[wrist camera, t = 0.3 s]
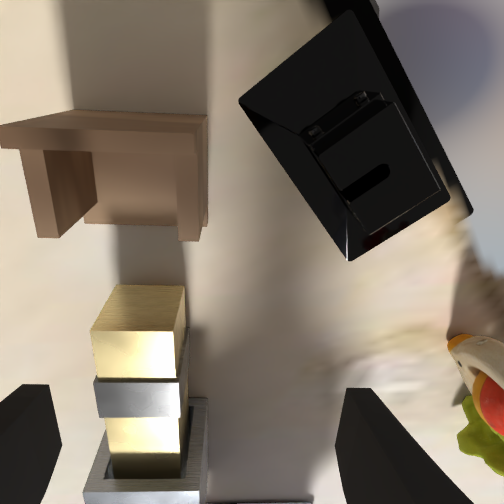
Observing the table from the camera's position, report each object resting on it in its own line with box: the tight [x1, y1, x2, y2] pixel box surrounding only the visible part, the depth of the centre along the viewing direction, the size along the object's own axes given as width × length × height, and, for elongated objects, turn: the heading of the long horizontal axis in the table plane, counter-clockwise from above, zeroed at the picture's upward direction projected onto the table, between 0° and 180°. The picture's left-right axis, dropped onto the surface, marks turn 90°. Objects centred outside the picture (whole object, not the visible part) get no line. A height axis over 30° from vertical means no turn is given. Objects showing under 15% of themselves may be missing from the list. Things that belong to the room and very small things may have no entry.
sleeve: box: [82, 398, 208, 504], centre depth 21 cm, size 6×5×6 cm
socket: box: [0, 110, 208, 241], centre depth 14 cm, size 5×5×6 cm
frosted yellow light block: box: [90, 285, 190, 479], centre depth 19 cm, size 14×4×4 cm, turn 178°
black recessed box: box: [238, 0, 474, 261], centre depth 15 cm, size 12×7×5 cm, turn 36°
